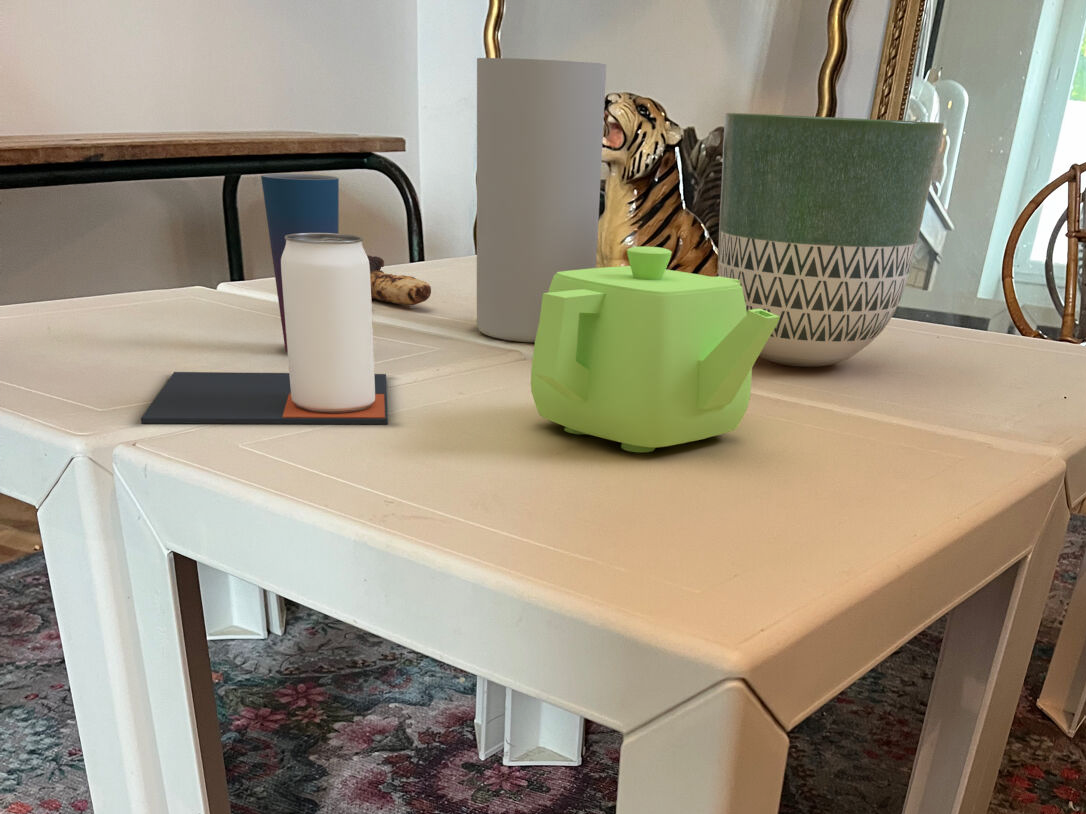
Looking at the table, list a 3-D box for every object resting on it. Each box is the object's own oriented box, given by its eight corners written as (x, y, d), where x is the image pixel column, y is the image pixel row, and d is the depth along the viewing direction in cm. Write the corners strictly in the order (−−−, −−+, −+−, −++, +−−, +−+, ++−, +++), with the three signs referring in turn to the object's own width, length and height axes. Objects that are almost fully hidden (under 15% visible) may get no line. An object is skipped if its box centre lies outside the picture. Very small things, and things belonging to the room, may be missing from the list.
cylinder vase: (603, 328, 125) (618, 66, 112) (577, 348, 114) (590, 61, 102) (496, 319, 127) (498, 61, 115) (461, 338, 117) (459, 56, 104)
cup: (362, 350, 109) (354, 178, 102) (315, 360, 104) (303, 180, 97) (308, 341, 112) (297, 173, 105) (260, 351, 107) (244, 174, 99)
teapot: (834, 444, 85) (864, 259, 79) (656, 492, 73) (674, 276, 66) (655, 397, 96) (668, 231, 90) (475, 431, 84) (475, 242, 78)
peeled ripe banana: (306, 297, 138) (378, 316, 126) (302, 256, 136) (375, 271, 124) (373, 290, 143) (449, 308, 131) (370, 250, 141) (446, 264, 128)
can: (277, 409, 86) (262, 238, 80) (313, 392, 91) (301, 230, 85) (356, 417, 85) (347, 244, 79) (388, 399, 90) (381, 235, 84)
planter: (937, 382, 107) (989, 125, 96) (750, 386, 102) (783, 116, 91) (838, 342, 123) (873, 119, 112) (673, 345, 118) (693, 111, 107)
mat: (141, 423, 83) (140, 416, 82) (174, 376, 96) (173, 370, 96) (387, 424, 85) (387, 417, 85) (386, 378, 99) (386, 372, 99)
